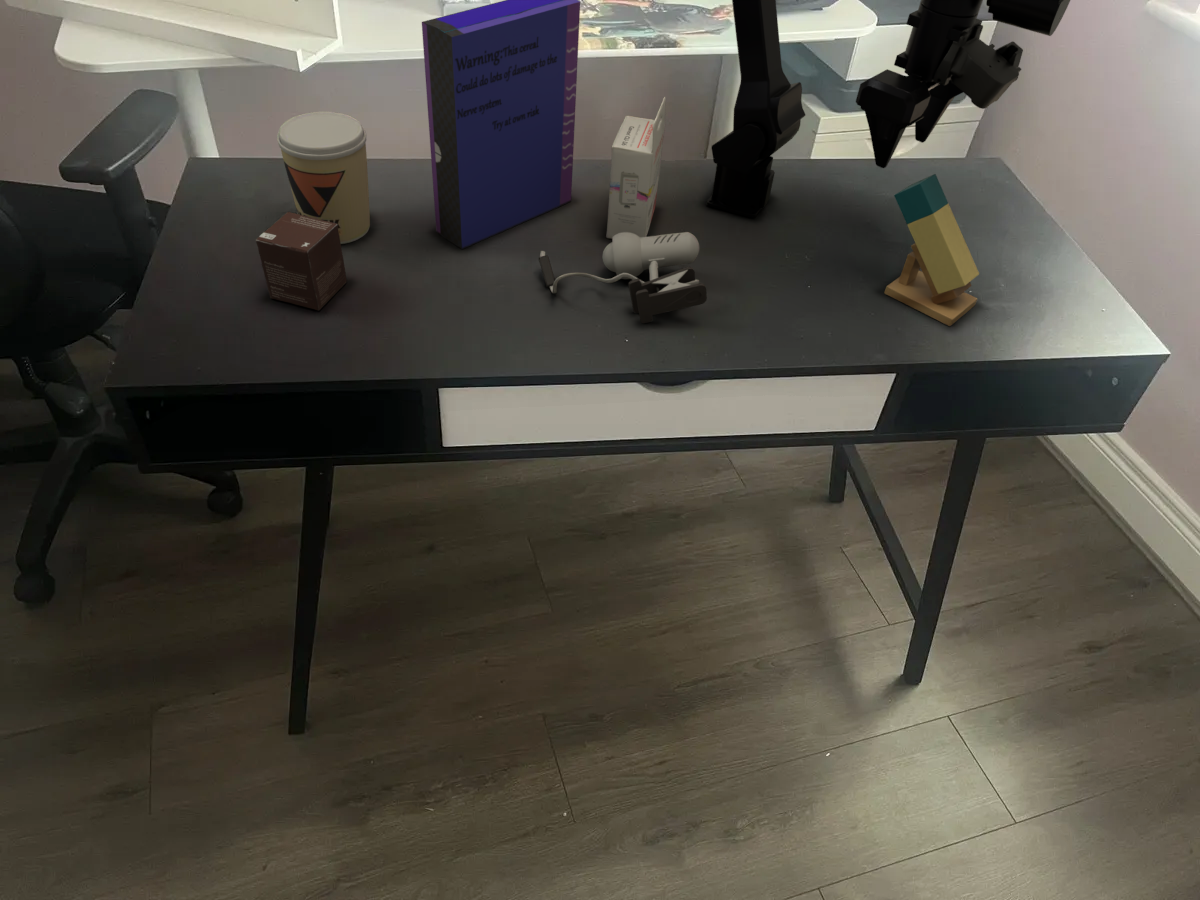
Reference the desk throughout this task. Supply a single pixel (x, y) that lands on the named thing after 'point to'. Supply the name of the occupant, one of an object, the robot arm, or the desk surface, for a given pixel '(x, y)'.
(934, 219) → the two-tone square bar
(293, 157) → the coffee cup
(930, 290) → the tan wooden stand
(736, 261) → the desk surface
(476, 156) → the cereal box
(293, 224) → the box
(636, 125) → the ink cartridge box
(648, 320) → the clip-on lamp
